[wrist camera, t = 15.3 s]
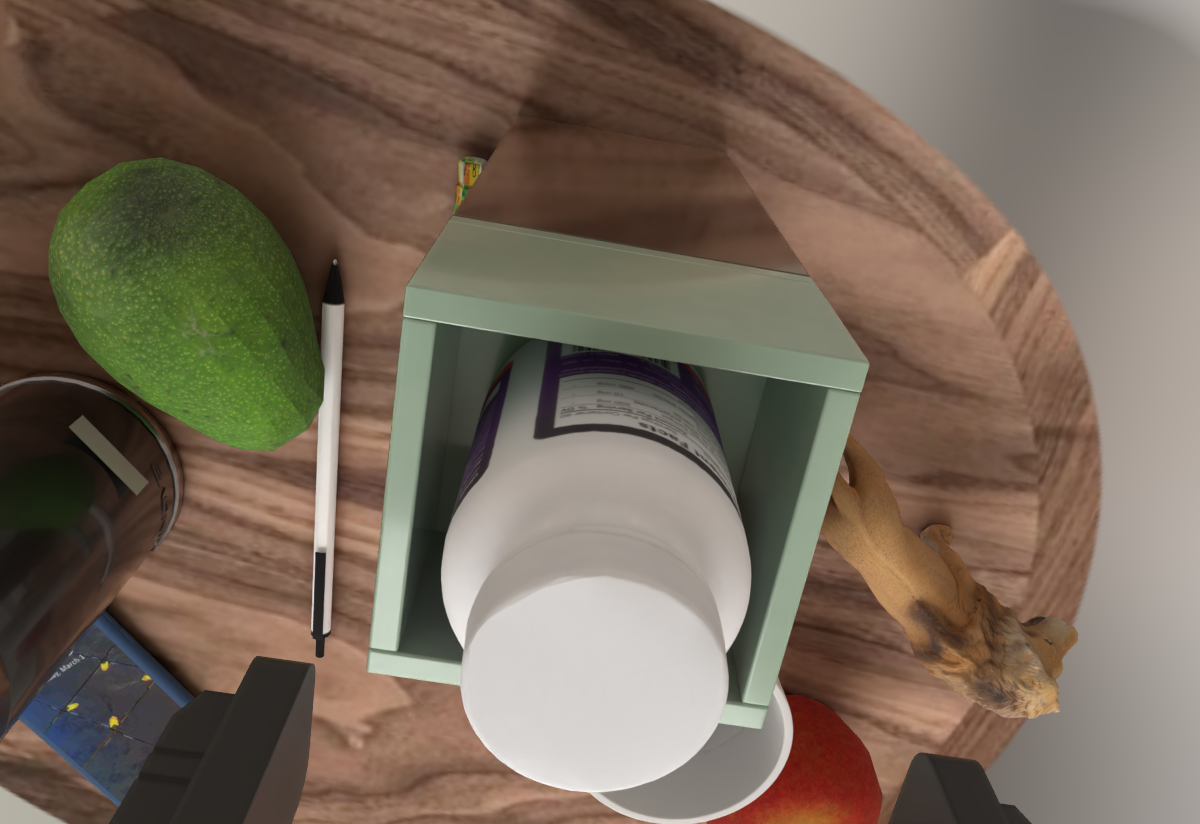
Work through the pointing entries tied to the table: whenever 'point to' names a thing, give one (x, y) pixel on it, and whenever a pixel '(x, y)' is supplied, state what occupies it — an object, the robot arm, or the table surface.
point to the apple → (817, 775)
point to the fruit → (189, 301)
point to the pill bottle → (595, 568)
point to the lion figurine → (944, 600)
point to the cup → (714, 773)
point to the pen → (327, 458)
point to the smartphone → (106, 707)
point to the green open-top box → (626, 325)
